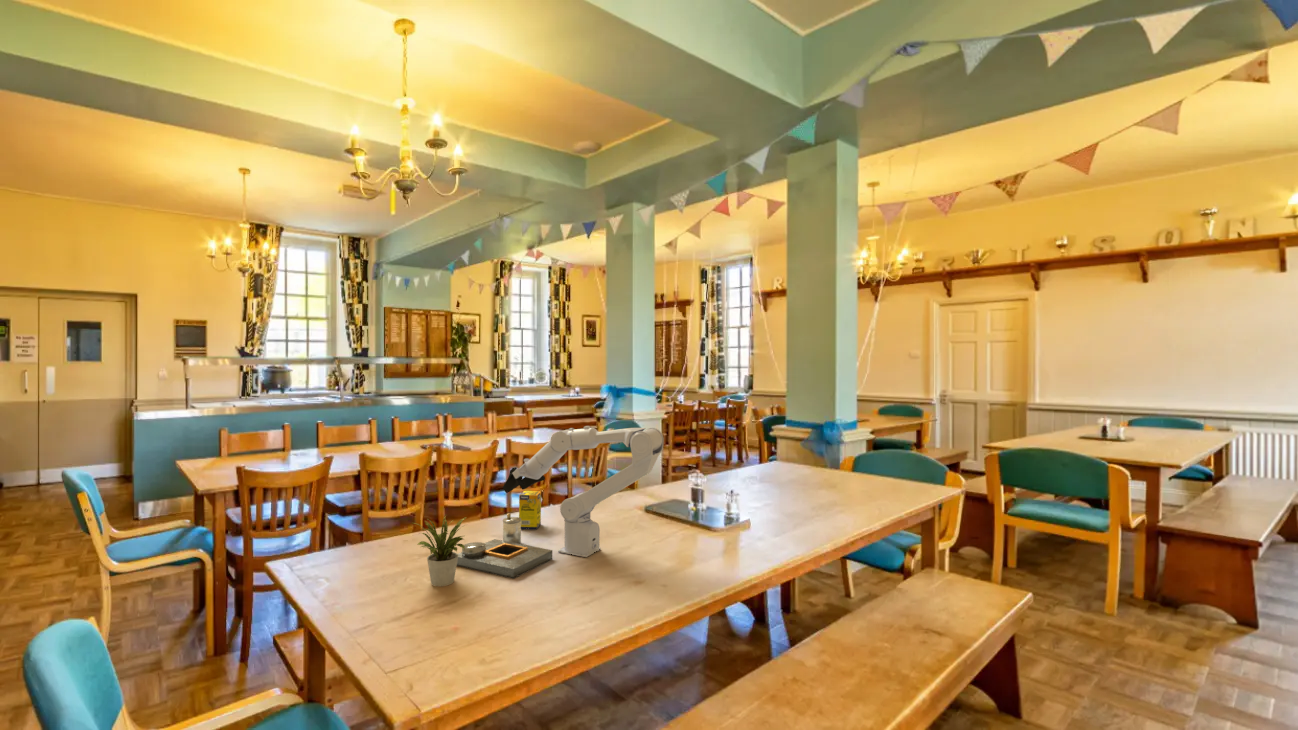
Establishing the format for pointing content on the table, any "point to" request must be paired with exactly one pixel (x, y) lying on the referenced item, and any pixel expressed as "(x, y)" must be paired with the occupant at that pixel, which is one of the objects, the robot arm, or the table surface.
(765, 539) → the table surface
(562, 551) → the robot arm
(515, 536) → the spout can
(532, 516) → the supplement box
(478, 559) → the grey block with opening
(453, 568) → the house plant
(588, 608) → the table surface
